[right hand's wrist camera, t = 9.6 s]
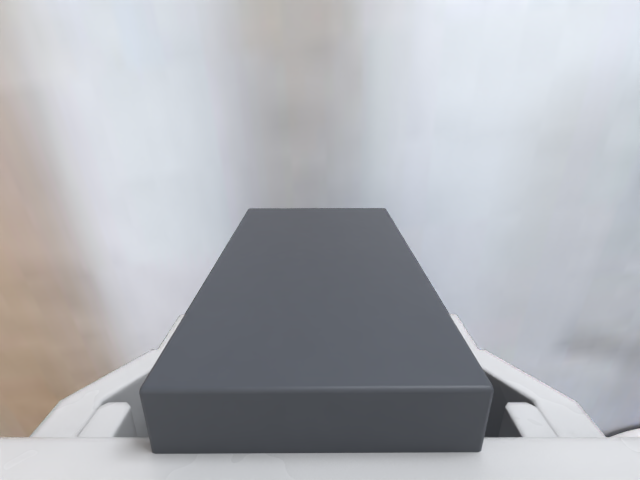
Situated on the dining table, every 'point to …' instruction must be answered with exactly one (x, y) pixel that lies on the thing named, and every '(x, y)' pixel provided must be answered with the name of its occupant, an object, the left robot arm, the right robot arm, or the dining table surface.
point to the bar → (316, 347)
